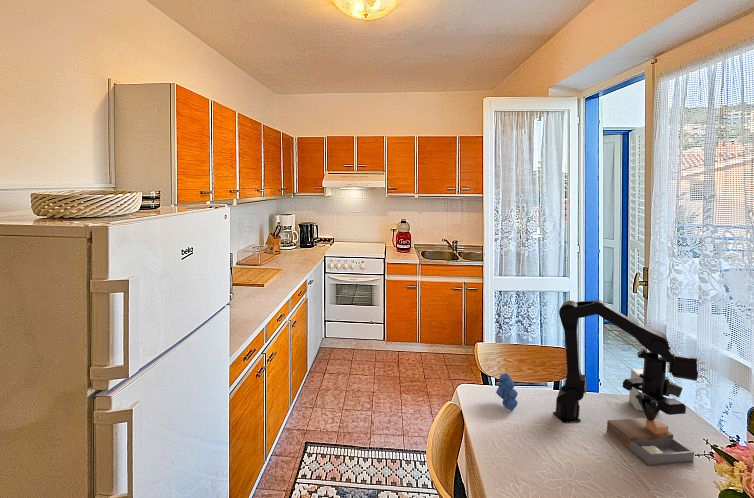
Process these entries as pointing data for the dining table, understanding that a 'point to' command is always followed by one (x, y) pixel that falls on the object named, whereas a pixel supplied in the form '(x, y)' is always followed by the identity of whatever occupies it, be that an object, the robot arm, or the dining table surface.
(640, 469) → the dining table surface
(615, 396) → the dining table surface
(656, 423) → the terracotta tile
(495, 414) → the dining table surface
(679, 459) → the tray
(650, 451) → the sage tile
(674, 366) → the robot arm
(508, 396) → the grapes
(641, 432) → the walnut board
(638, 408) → the supplement box
